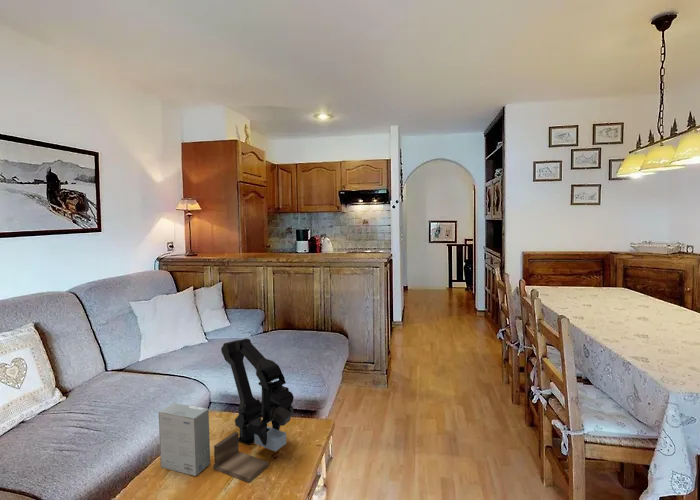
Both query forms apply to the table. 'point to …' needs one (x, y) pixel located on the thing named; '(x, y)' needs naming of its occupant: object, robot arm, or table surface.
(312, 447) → the table surface
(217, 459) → the walnut shelf
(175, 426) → the hard drive box
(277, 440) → the grey rectangular block
